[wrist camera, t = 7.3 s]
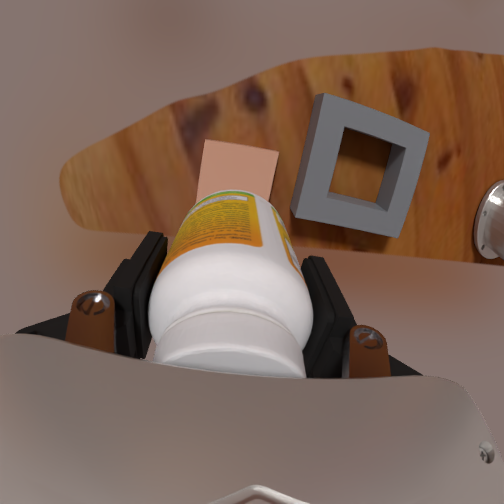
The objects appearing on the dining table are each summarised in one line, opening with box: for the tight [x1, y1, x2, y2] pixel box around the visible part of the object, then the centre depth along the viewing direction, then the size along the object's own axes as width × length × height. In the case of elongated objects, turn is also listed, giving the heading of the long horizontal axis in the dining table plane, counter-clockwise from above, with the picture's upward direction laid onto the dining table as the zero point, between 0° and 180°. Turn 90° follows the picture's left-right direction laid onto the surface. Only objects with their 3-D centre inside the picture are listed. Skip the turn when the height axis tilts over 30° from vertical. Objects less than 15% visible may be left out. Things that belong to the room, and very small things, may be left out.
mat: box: [196, 139, 279, 203], centre depth 27 cm, size 7×7×1 cm
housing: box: [290, 93, 430, 238], centre depth 26 cm, size 12×12×3 cm
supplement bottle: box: [148, 190, 313, 378], centre depth 11 cm, size 5×5×10 cm
